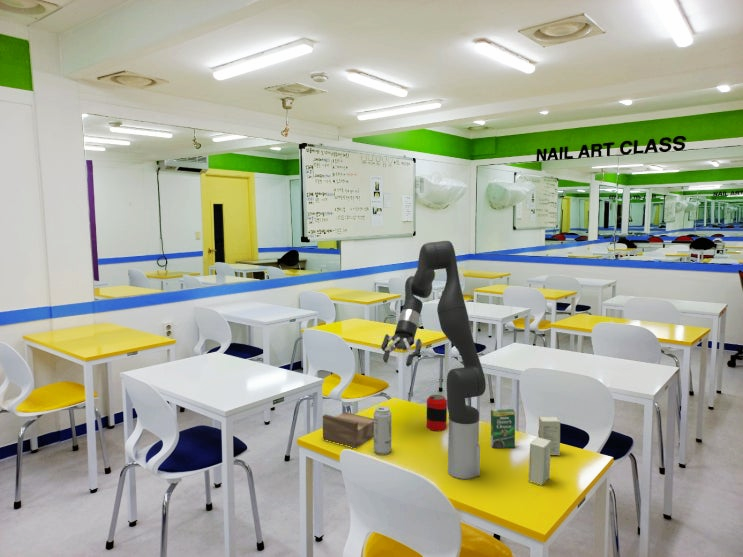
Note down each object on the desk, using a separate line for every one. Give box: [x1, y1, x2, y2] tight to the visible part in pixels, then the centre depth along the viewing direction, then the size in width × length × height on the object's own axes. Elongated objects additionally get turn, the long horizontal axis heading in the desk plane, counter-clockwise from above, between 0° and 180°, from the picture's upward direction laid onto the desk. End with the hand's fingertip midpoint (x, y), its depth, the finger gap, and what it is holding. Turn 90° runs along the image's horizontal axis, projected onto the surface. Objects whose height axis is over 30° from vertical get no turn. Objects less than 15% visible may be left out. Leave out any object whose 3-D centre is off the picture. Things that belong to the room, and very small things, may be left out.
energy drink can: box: [373, 406, 393, 456], centre depth 174 cm, size 6×6×15 cm
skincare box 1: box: [538, 416, 561, 455], centre depth 173 cm, size 6×4×12 cm
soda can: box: [426, 394, 448, 432], centre depth 195 cm, size 8×8×12 cm
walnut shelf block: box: [322, 411, 374, 449], centre depth 186 cm, size 14×14×9 cm
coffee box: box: [490, 408, 516, 449], centre depth 178 cm, size 8×3×13 cm, turn 90°
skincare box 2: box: [528, 436, 551, 485], centre depth 155 cm, size 6×4×12 cm
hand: (396, 363), depth 184 cm, fingers open, 8 cm apart
